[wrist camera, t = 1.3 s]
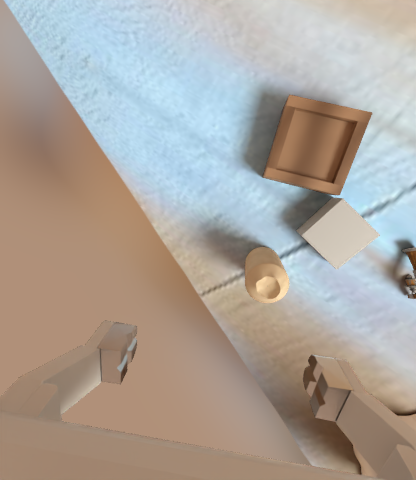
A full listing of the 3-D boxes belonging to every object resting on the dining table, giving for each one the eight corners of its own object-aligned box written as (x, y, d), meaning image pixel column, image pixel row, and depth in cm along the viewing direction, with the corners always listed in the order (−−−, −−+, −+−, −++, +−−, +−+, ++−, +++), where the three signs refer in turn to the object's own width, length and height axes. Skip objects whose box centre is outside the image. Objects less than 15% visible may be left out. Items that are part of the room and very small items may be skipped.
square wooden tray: (356, 121, 31) (372, 112, 27) (328, 194, 34) (339, 195, 30) (284, 105, 32) (289, 94, 28) (262, 177, 34) (264, 176, 31)
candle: (238, 265, 38) (236, 292, 29) (258, 239, 37) (263, 258, 27) (265, 284, 38) (272, 316, 29) (286, 259, 37) (301, 284, 27)
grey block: (364, 229, 34) (380, 235, 30) (327, 260, 36) (336, 269, 32) (331, 197, 34) (342, 198, 30) (295, 230, 36) (301, 235, 32)
